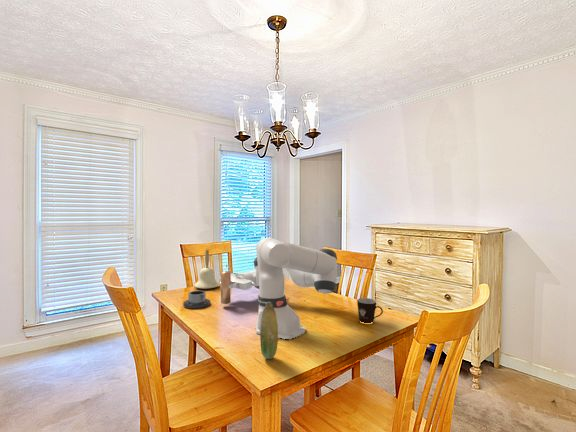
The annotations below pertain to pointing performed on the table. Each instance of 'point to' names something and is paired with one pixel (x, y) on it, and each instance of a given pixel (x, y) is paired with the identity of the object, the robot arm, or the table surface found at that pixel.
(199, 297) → the pipe sleeve
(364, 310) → the coffee mug
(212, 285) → the handbell
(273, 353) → the vegetable
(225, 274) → the copper pipe
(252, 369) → the table surface
